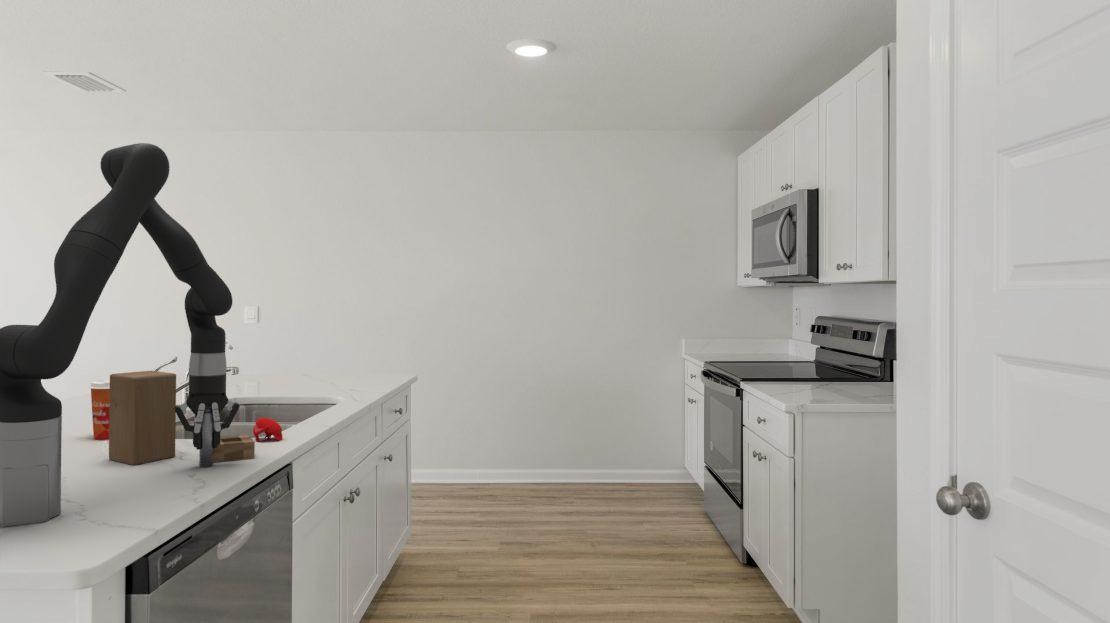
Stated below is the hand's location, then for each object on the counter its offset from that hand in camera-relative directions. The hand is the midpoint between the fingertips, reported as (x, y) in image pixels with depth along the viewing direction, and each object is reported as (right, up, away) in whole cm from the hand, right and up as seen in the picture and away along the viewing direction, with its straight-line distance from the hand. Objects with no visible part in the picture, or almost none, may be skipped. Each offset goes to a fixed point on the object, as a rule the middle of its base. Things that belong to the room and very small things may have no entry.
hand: (206, 447), depth 152 cm
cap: (+2, -4, +28) cm, 28 cm away
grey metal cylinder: (0, -4, 0) cm, 4 cm away
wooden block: (-18, -4, +5) cm, 19 cm away
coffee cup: (-40, -3, +26) cm, 47 cm away
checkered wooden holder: (+1, -4, +9) cm, 10 cm away
